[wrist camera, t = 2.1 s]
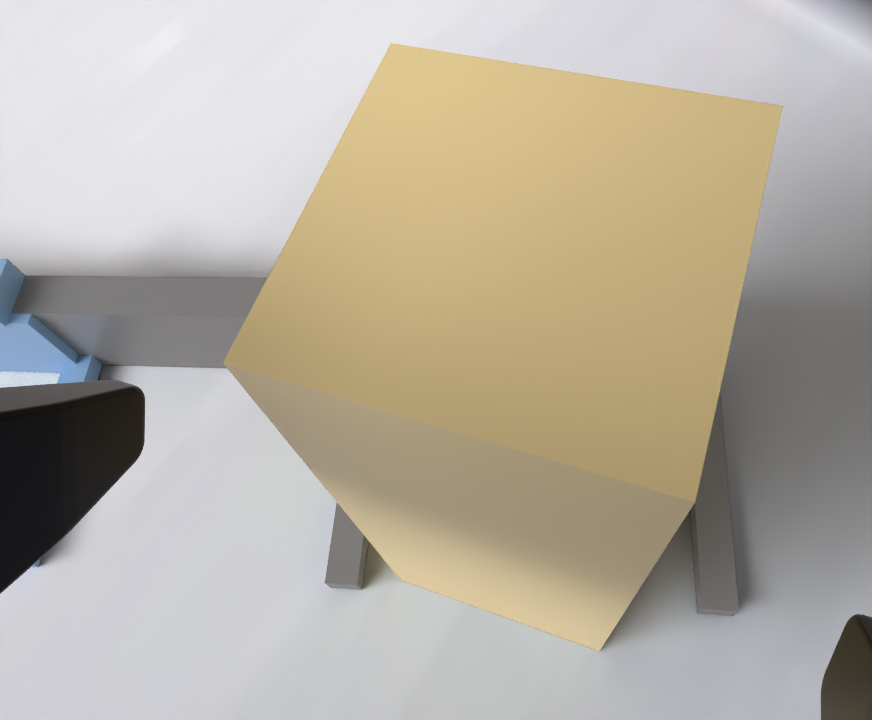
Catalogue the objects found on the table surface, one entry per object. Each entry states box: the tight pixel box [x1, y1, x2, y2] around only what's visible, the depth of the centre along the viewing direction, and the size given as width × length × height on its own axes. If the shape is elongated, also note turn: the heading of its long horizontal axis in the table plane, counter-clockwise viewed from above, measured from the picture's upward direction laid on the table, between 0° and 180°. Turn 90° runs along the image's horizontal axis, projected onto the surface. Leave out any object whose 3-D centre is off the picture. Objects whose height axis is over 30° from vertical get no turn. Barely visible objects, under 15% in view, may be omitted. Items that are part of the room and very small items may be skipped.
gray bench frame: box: [0, 259, 739, 616], centre depth 19 cm, size 27×7×4 cm, turn 85°
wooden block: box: [223, 43, 783, 651], centre depth 14 cm, size 5×5×12 cm
